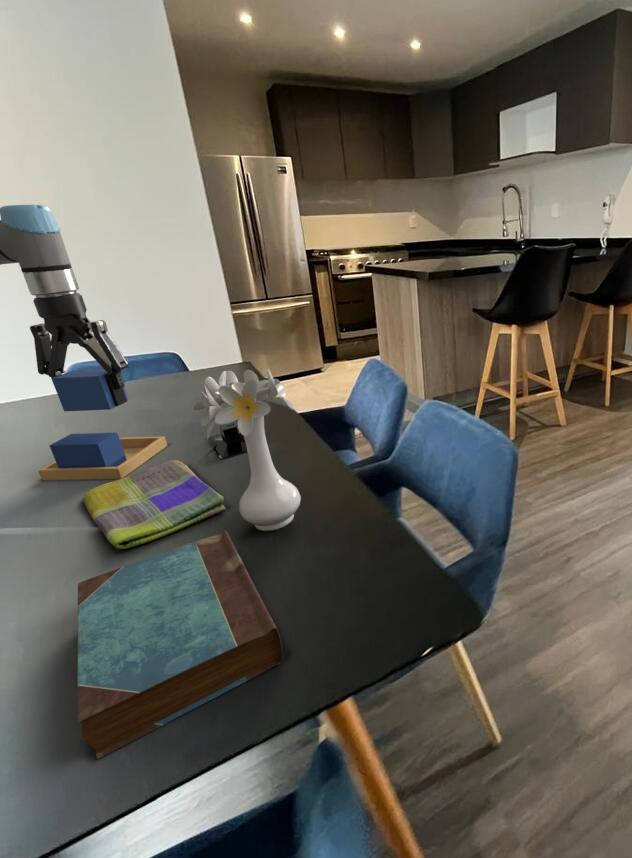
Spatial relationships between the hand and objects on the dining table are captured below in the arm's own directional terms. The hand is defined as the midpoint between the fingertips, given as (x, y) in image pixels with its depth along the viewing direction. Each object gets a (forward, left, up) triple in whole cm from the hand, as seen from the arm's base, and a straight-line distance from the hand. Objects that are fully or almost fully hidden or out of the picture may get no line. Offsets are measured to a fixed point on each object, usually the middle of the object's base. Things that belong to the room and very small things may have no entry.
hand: (96, 404), depth 101 cm
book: (+44, -49, -13) cm, 67 cm away
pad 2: (+1, -7, -12) cm, 13 cm away
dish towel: (+22, -20, -13) cm, 32 cm away
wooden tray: (+1, -3, -12) cm, 13 cm away
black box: (+24, +5, -13) cm, 27 cm away
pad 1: (0, 0, 0) cm, 0 cm away
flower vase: (+45, -25, -13) cm, 53 cm away
